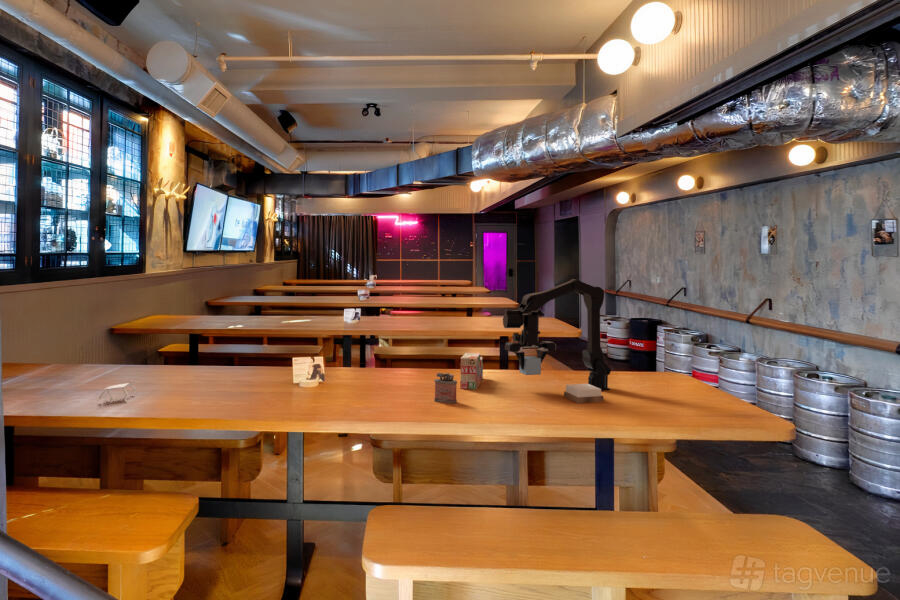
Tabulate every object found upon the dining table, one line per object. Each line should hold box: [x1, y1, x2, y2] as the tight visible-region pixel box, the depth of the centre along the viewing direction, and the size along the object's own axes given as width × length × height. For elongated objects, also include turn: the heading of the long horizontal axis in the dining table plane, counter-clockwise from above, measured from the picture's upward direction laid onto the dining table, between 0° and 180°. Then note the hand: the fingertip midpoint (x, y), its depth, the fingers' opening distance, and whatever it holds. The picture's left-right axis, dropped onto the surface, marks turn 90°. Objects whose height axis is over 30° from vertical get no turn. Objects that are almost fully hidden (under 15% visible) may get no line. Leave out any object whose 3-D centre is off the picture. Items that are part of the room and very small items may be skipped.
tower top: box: [565, 383, 602, 397], centre depth 192 cm, size 9×9×2 cm
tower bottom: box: [563, 390, 604, 404], centre depth 192 cm, size 10×10×2 cm
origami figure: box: [98, 382, 137, 404], centre depth 184 cm, size 12×8×5 cm
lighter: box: [433, 372, 458, 404], centre depth 186 cm, size 8×3×10 cm, turn 71°
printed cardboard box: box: [459, 352, 484, 390], centre depth 215 cm, size 21×6×12 cm, turn 170°
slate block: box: [518, 355, 542, 376], centre depth 202 cm, size 6×6×6 cm
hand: (530, 369), depth 202 cm, fingers closed on slate block, 6 cm apart
